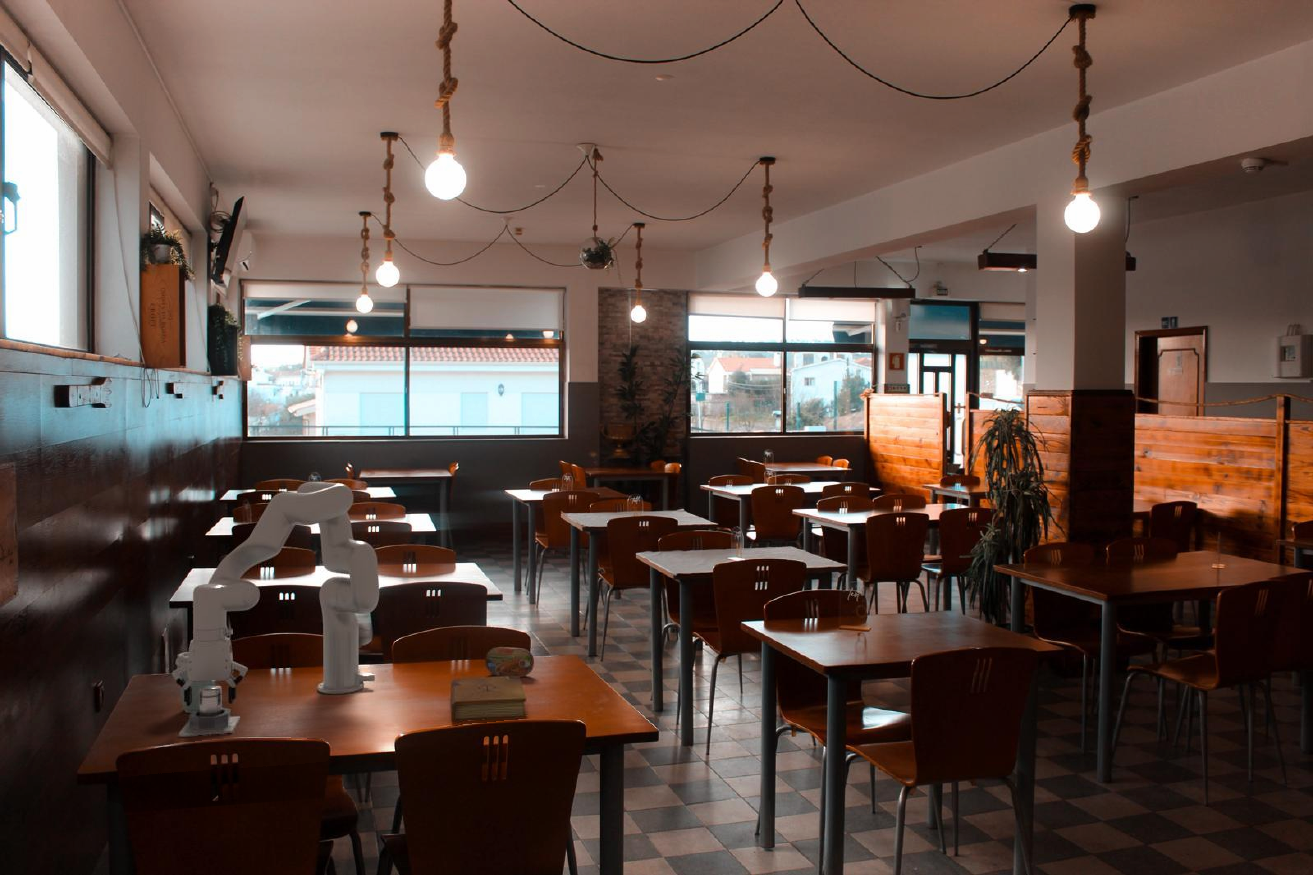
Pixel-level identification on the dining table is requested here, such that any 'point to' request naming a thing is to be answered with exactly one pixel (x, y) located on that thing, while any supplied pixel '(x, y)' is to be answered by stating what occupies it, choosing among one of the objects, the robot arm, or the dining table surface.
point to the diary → (487, 698)
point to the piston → (210, 701)
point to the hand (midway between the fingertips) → (210, 703)
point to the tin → (509, 661)
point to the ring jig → (209, 724)
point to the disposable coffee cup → (195, 686)
